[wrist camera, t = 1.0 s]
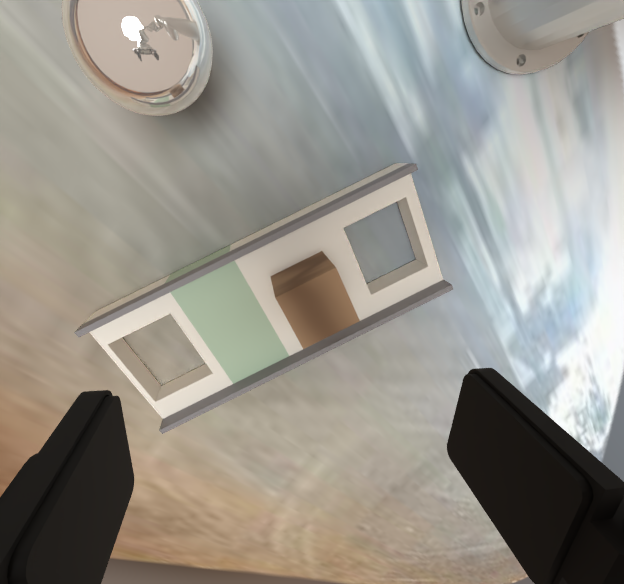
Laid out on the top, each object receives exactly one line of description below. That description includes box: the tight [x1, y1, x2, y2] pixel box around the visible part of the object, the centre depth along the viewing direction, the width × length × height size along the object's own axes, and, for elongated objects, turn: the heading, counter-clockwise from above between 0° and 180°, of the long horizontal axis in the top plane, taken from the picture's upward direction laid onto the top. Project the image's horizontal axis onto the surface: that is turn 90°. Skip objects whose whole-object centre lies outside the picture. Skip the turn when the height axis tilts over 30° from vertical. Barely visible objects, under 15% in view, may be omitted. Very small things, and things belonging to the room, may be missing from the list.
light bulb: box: [61, 0, 213, 116], centre depth 20 cm, size 7×7×12 cm
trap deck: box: [74, 163, 453, 434], centre depth 31 cm, size 30×12×4 cm, turn 115°
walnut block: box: [270, 251, 360, 349], centre depth 29 cm, size 5×5×5 cm
